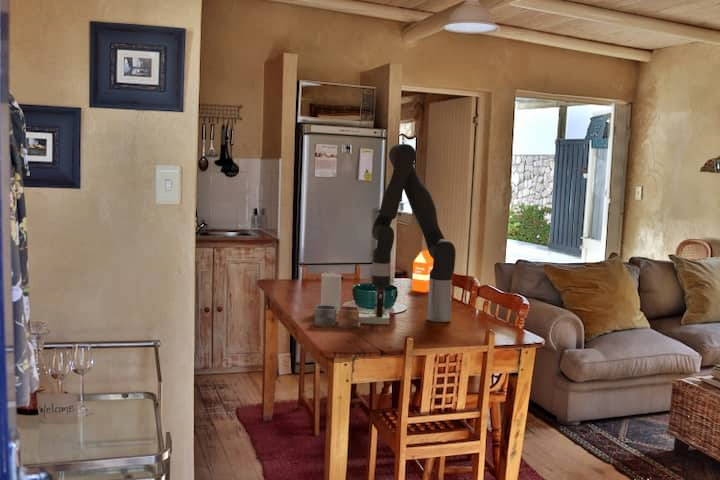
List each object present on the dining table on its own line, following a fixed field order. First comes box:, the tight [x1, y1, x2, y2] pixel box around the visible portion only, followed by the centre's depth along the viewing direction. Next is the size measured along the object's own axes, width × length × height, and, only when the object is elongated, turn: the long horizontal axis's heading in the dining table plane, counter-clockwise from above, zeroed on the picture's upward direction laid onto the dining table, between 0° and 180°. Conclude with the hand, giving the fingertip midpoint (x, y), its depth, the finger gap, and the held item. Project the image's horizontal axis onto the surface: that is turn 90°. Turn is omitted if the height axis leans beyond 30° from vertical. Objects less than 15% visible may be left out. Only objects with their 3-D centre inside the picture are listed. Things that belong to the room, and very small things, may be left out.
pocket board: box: [359, 311, 390, 325], centre depth 278 cm, size 15×10×2 cm, turn 89°
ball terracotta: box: [373, 306, 386, 316], centre depth 278 cm, size 4×4×4 cm
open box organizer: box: [312, 304, 361, 330], centre depth 269 cm, size 18×9×7 cm, turn 89°
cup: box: [320, 272, 342, 315], centre depth 290 cm, size 8×8×16 cm
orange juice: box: [411, 249, 433, 293], centre depth 348 cm, size 8×9×20 cm
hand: (379, 315), depth 278 cm, fingers closed on ball terracotta, 4 cm apart
